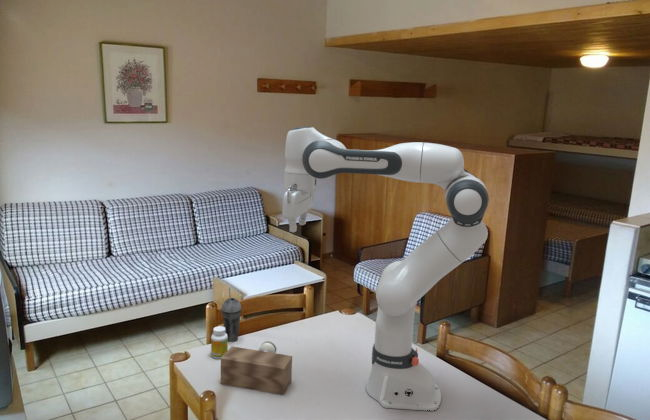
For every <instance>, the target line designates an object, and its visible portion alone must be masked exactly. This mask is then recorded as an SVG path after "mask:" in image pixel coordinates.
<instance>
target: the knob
mask: <svg viewBox="0 0 650 420" xmlns="http://www.w3.org/2000/svg"><path fill="white" fill-rule="evenodd" d="M277 350H278V349H277V345H276V343H275V342H273V341H271V340H265V341H264V342H263V343H261V345H260V346H259V349H258V351H264V352H270V353H276V354H277Z"/></svg>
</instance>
